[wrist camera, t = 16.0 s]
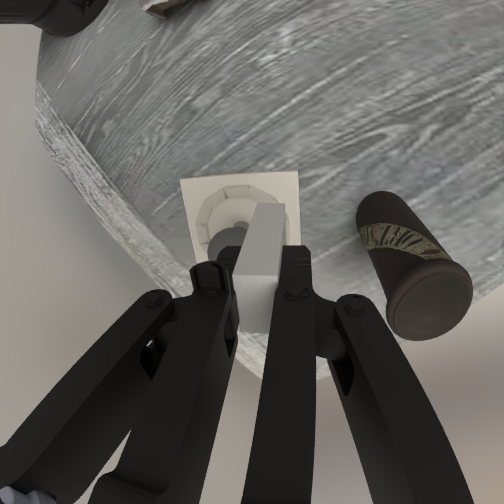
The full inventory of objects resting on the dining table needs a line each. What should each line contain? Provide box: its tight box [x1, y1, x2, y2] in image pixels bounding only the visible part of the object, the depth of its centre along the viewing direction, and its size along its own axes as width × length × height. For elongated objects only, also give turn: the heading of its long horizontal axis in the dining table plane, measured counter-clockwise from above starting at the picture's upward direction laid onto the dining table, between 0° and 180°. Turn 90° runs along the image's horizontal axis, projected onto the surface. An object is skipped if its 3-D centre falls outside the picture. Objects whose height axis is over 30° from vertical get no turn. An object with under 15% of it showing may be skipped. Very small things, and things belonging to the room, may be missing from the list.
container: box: [357, 191, 473, 341], centre depth 28 cm, size 9×9×20 cm
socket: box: [180, 170, 301, 264], centre depth 40 cm, size 16×16×2 cm
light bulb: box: [207, 221, 249, 261], centre depth 36 cm, size 6×6×10 cm
